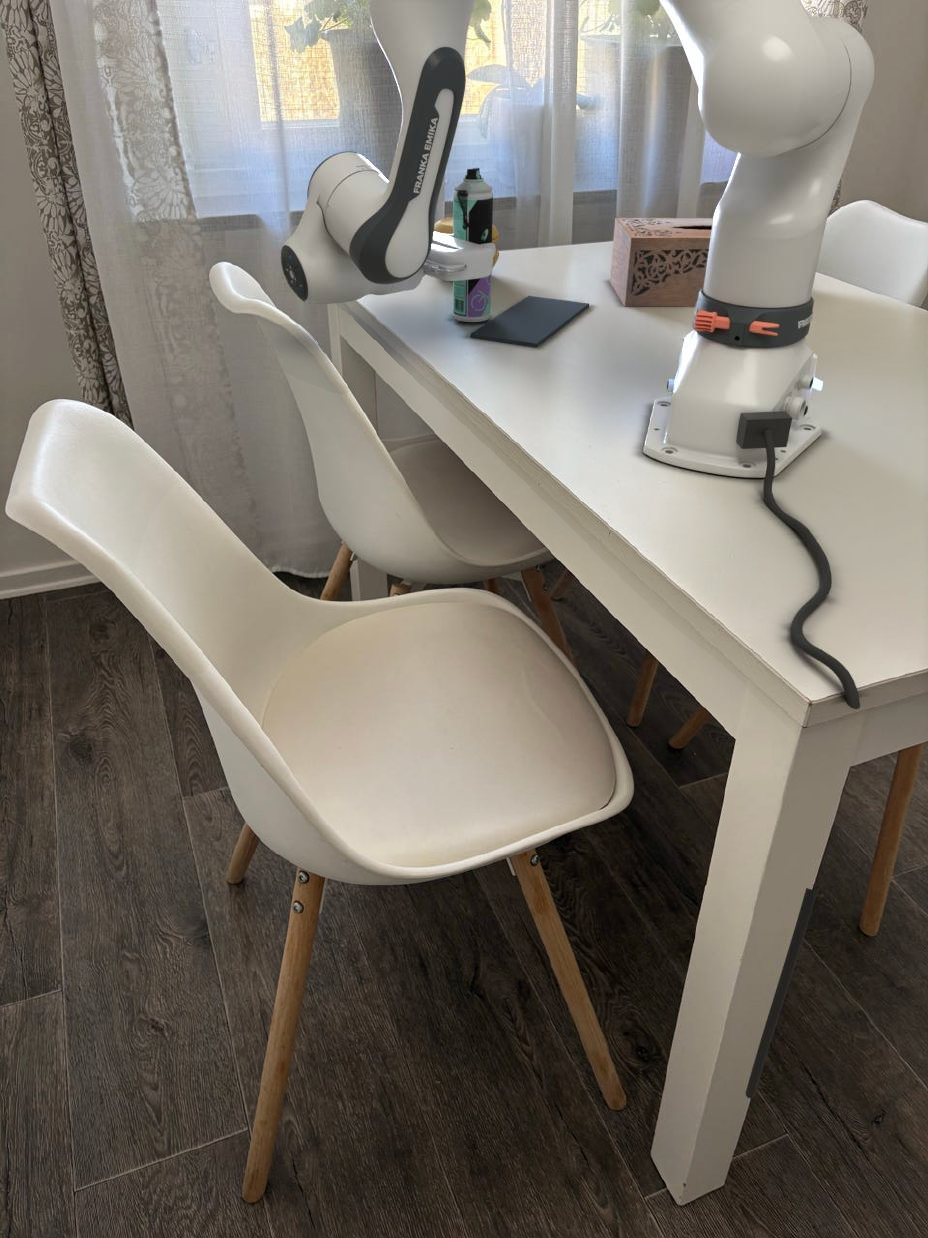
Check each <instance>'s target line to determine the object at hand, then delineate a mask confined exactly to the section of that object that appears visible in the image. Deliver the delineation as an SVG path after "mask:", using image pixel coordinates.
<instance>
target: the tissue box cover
mask: <svg viewBox="0 0 928 1238" xmlns="http://www.w3.org/2000/svg"><path fill="white" fill-rule="evenodd" d="M712 223H713V217H615V218H614V230H613V238H612V239H613V240H612V249H611V250H612V251H611V261H610V262H611V263H610V275H609V284H610V285H611V287H612V288H613V290H614V291H615V293H616V295H617V297H618V298H619V299H620V300H621V303H622V304H623V306H624V307H695V305H696V302H697V300H698V295H699V291H700V289H702V288H703V287H704V281H705V274H706V266H707V259H708V252H709V245H710V237H711V230H712Z"/></svg>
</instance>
